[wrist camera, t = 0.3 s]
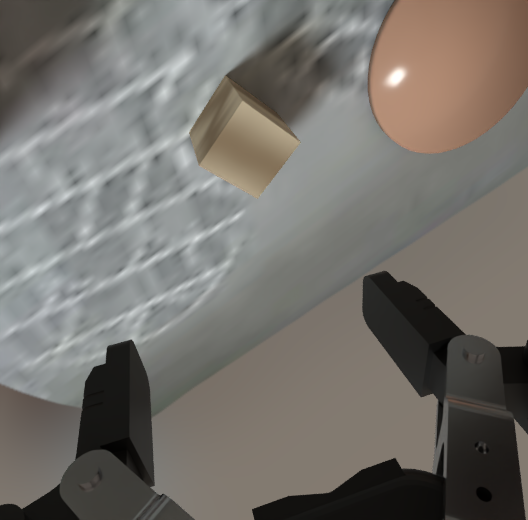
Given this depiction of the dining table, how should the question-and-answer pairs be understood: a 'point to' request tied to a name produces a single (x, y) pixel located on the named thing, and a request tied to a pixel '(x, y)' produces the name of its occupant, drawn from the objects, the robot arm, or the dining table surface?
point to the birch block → (241, 139)
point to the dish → (447, 70)
